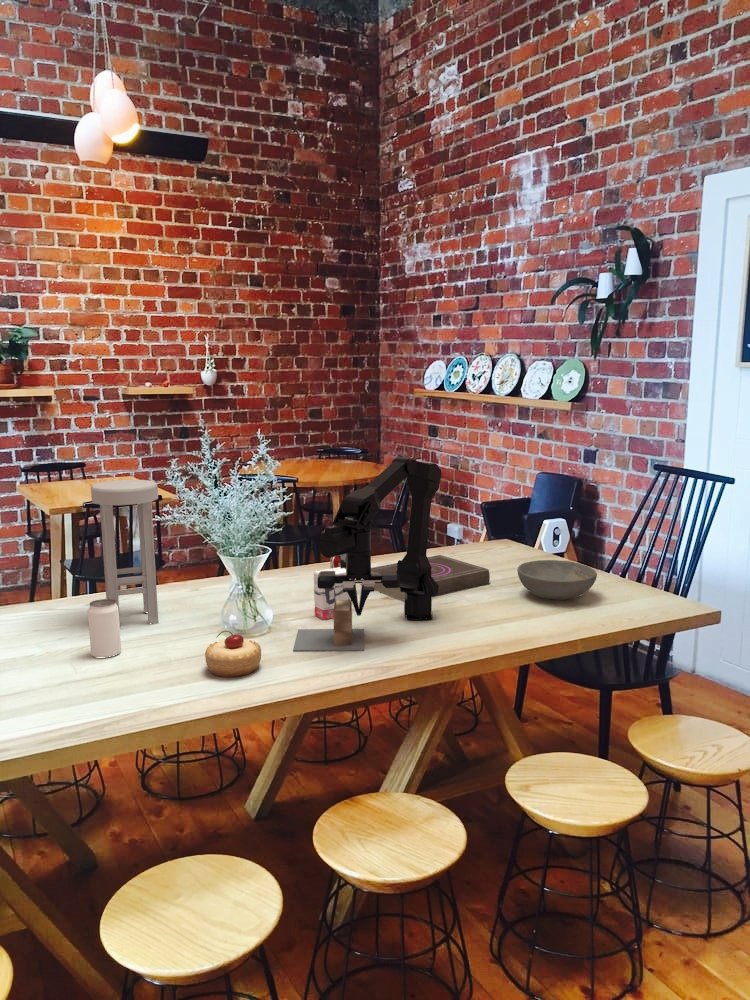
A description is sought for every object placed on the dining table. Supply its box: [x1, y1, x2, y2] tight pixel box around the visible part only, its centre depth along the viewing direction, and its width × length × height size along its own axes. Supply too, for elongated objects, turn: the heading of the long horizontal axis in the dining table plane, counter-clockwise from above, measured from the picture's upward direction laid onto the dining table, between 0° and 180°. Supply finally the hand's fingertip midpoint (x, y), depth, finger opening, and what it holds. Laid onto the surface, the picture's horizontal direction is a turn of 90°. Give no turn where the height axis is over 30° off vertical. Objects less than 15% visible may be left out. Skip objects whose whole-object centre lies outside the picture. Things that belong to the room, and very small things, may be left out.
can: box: [87, 598, 122, 658], centre depth 178 cm, size 6×6×12 cm
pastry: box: [204, 630, 262, 678], centre depth 169 cm, size 12×12×9 cm
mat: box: [292, 628, 365, 653], centre depth 186 cm, size 16×14×1 cm
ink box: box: [313, 567, 351, 621], centre depth 204 cm, size 8×5×12 cm, turn 123°
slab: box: [333, 600, 353, 646], centre depth 186 cm, size 4×9×8 cm, turn 1°
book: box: [360, 554, 491, 603], centre depth 232 cm, size 30×22×5 cm
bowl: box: [517, 559, 598, 601], centre depth 219 cm, size 21×21×8 cm
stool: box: [90, 479, 159, 624], centre depth 200 cm, size 16×16×35 cm
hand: (358, 615), depth 185 cm, fingers closed
